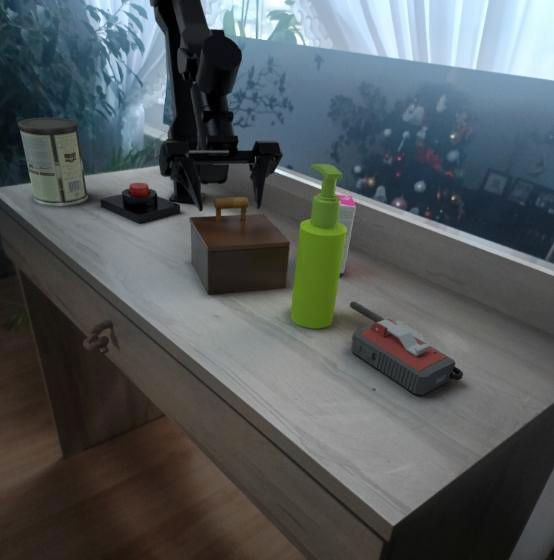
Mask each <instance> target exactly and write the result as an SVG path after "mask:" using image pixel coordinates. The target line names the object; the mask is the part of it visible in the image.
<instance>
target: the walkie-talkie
mask: <svg viewBox="0 0 554 560" xmlns="http://www.w3.org/2000/svg"><path fill="white" fill-rule="evenodd" d="M349 308H350V309H352V310H354V311H356V312H357V313H359V314H361V315H362V316H364V317H365V318H367V319H369V320H370V321H372V322H374V323H373V324H370V325H367V326H363V327H358V328H357V329H355V330H354V332H353V334H352V336H351V339H352V340H351V341H352V343H351V348H350V350H351V352H352V353H353V354H354V355H356V356H358V357H359V358H361V359H362V360H364V361H365V362H367V363H368V364H369V365H371V366H373V367H374V368H375V369H377V370H378V371H379V372H381V373H383V374H385V375H386V376H387V377H389V378H390V379H391V380H393V381H395V382H396V383H398V384H399V385H401V386H402V387H403V388H405V389H407V390H408V391H409V392H411V393H413V394H414V395H419V396H424V395H425V394H426V393H429V392H431V391H433V390H435V389H436V388H438V387H440V386H442V385H444V384H447V383H448V382H450V381H451V380H454V381H461V380H462V379H463V376H464V372H463V371H462V370H461V369H460V368H458V367H456V361H455V360H454V359H453V358H452V357H450V356H448V355H446V354H445V353H443V352H441V351H439V350H438V349H436V348H434V347H433V346H431V345H430V344H428V343H427V342H426V340H425V338H424V336H423V333H420V332H419V331H417V330H415V329H414V328H412V327H410V326H408V325H406V324H405V323H404V322H403V321H402V320H396V321H394V320H391V319H389V318H384V317H382V316H380V315H379V314H377V313H375V312H374V311H372V310H370V309H368V308H367V307H365V306H363V305H362V304H361V303H358V302H357V301H354V300H353V301H351V302H350V303H349Z"/></svg>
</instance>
